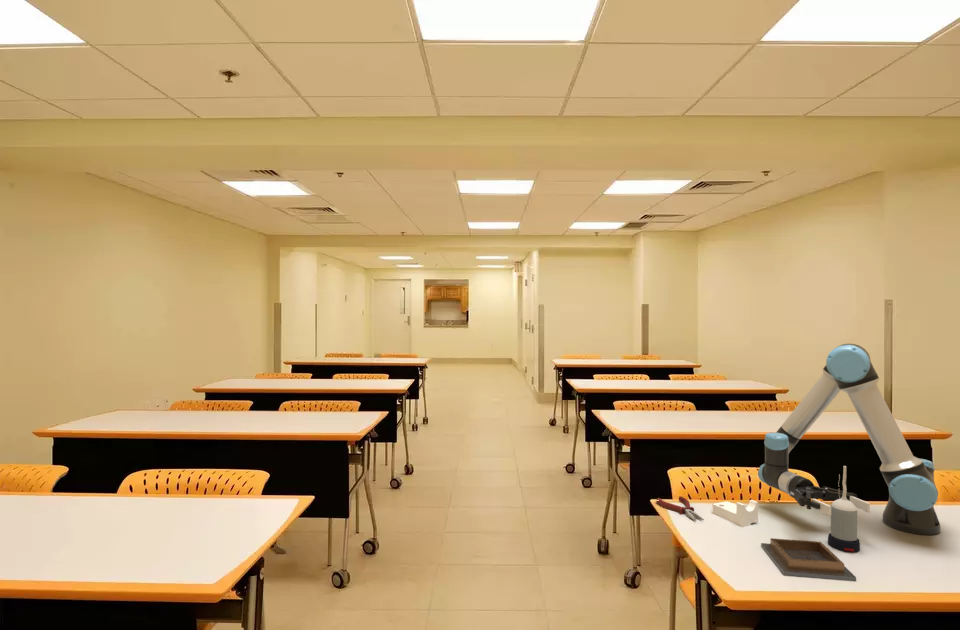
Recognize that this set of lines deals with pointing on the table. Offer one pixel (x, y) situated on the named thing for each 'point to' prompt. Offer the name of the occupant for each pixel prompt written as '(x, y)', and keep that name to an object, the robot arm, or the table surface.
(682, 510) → the pliers
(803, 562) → the fitting nest
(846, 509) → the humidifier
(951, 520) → the table surface
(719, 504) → the bracket
